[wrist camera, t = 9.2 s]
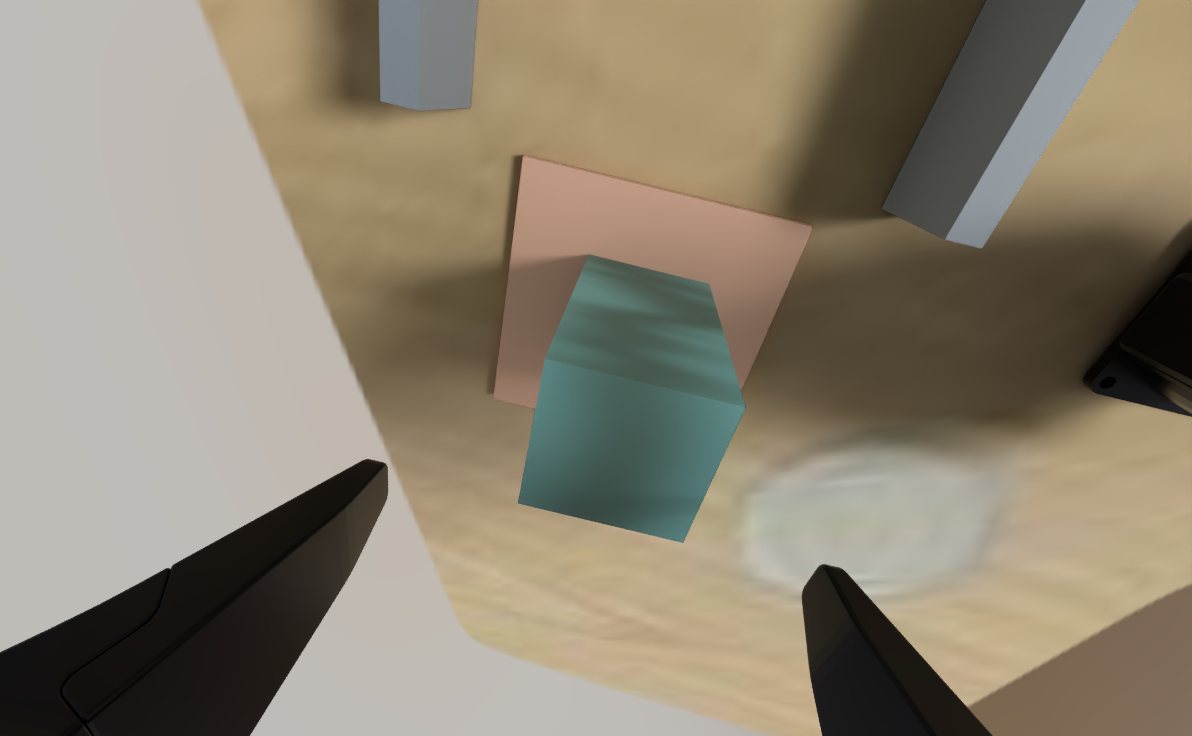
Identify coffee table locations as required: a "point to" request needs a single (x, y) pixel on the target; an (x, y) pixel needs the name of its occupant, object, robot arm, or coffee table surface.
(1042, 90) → the open-front gray frame
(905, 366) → the coffee table surface
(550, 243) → the terracotta mat
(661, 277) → the teal block
